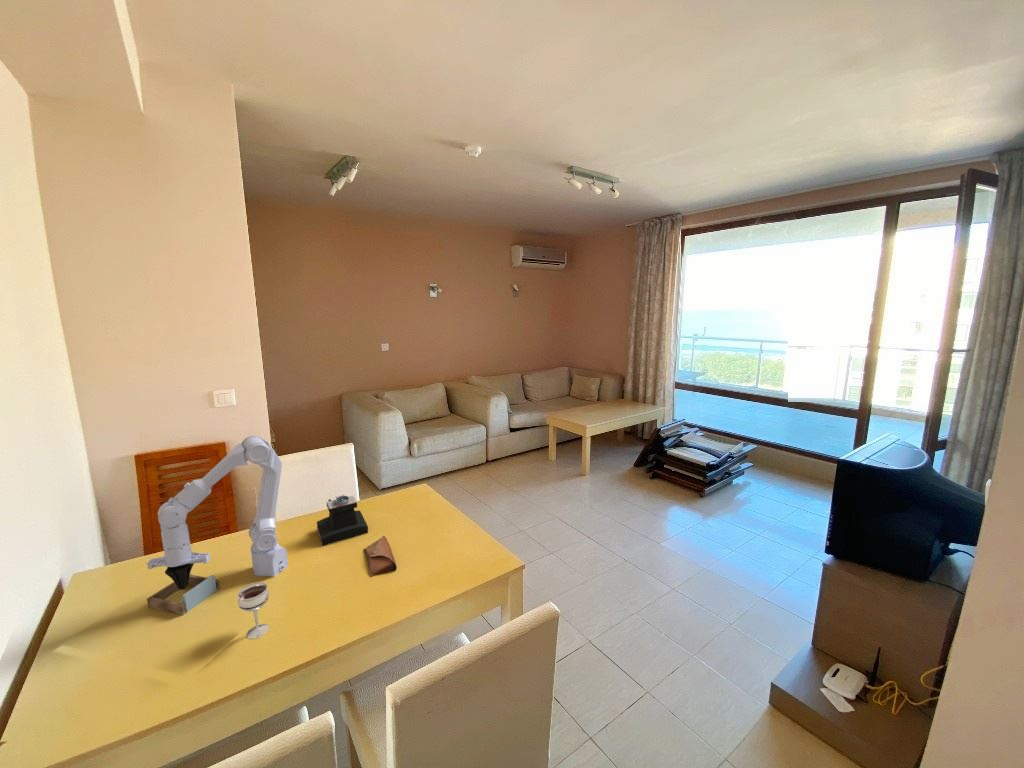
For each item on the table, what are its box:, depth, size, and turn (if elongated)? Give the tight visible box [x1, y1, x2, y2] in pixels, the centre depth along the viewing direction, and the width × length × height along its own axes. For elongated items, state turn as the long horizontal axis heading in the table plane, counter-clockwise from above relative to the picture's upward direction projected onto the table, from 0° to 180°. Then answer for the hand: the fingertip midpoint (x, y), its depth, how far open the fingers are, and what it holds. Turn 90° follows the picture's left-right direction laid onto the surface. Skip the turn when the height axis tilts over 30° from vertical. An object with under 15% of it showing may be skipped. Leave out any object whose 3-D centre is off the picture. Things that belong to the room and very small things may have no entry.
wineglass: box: [236, 581, 270, 640], centre depth 105 cm, size 7×7×12 cm
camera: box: [316, 494, 369, 546], centre depth 153 cm, size 16×14×15 cm
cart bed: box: [146, 574, 221, 616], centre depth 117 cm, size 12×11×4 cm
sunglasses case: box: [363, 535, 397, 577], centre depth 137 cm, size 18×7×7 cm
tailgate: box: [181, 574, 218, 613], centre depth 115 cm, size 1×9×5 cm, turn 167°
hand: (183, 587), depth 116 cm, fingers closed
